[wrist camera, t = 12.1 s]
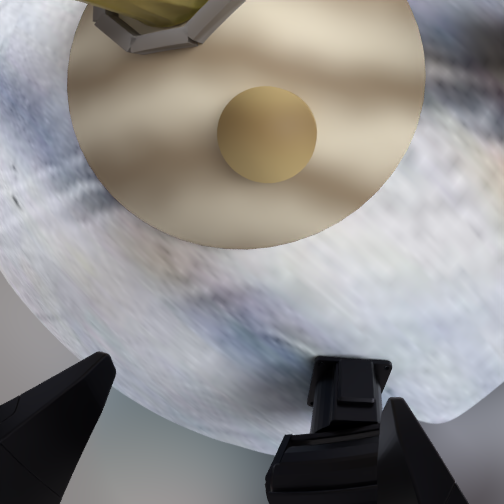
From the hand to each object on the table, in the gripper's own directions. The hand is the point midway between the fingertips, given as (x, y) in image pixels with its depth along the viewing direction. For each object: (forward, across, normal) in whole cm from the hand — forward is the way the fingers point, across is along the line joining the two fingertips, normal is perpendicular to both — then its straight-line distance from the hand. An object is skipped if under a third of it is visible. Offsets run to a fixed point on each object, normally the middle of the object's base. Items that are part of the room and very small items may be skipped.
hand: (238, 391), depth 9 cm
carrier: (+13, +4, -10) cm, 17 cm away
